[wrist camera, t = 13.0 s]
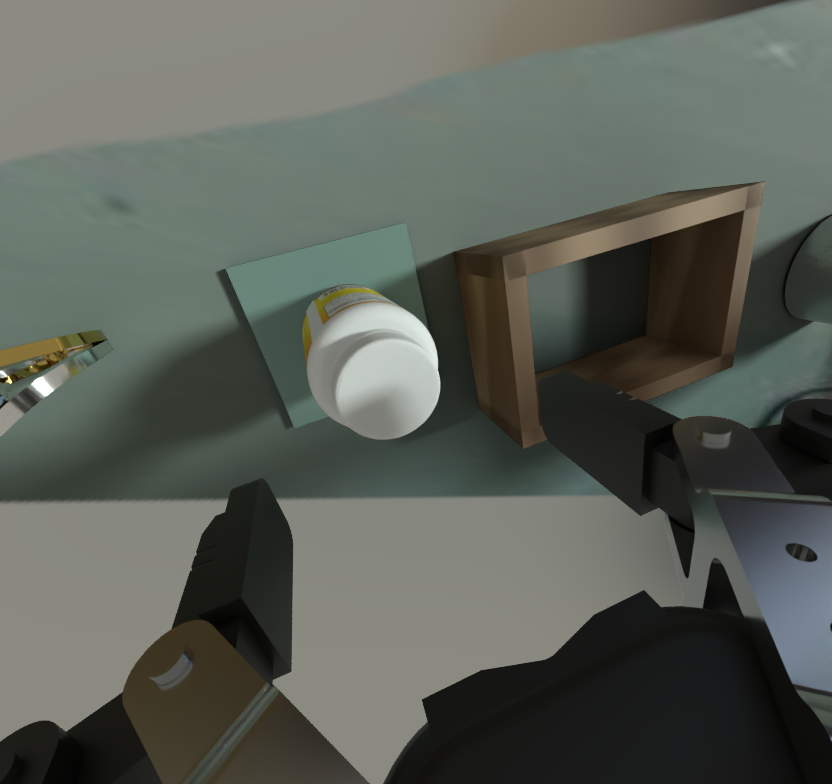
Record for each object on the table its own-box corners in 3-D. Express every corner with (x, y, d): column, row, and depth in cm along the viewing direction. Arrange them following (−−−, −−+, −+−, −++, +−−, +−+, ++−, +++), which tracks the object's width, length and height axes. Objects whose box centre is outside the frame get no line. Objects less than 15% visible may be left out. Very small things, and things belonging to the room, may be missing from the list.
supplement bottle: (356, 389, 24) (395, 483, 15) (281, 336, 21) (273, 410, 12) (412, 323, 23) (488, 378, 14) (343, 260, 21) (382, 279, 12)
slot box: (668, 192, 26) (765, 181, 21) (656, 344, 31) (732, 366, 26) (453, 251, 23) (502, 256, 18) (479, 408, 28) (523, 449, 23)
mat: (403, 222, 21) (405, 222, 21) (436, 376, 26) (439, 379, 25) (226, 267, 20) (225, 268, 19) (294, 424, 24) (294, 428, 24)
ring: (115, 299, 19) (9, 337, 12) (152, 356, 20) (77, 420, 13) (-37, 347, 18) (-255, 420, 11) (13, 404, 19) (-150, 501, 12)
